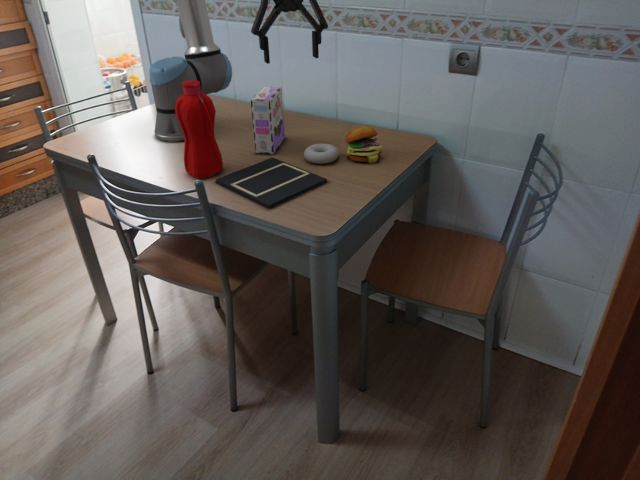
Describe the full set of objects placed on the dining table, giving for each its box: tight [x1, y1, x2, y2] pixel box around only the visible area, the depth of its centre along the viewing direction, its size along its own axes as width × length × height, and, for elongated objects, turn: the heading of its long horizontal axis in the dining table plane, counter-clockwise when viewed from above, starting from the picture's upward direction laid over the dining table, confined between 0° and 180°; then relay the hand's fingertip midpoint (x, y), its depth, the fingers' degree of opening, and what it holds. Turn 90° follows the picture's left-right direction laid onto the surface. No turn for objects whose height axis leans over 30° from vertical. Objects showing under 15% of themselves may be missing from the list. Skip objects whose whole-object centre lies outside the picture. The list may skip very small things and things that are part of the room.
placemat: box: [215, 157, 328, 210], centre depth 138 cm, size 22×20×1 cm
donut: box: [303, 143, 340, 165], centre depth 150 cm, size 10×3×10 cm
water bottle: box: [175, 80, 224, 180], centre depth 138 cm, size 9×11×25 cm
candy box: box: [250, 86, 286, 155], centre depth 156 cm, size 14×6×16 cm, turn 168°
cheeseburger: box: [344, 126, 383, 164], centre depth 149 cm, size 10×11×10 cm
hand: (291, 59), depth 139 cm, fingers open, 13 cm apart
